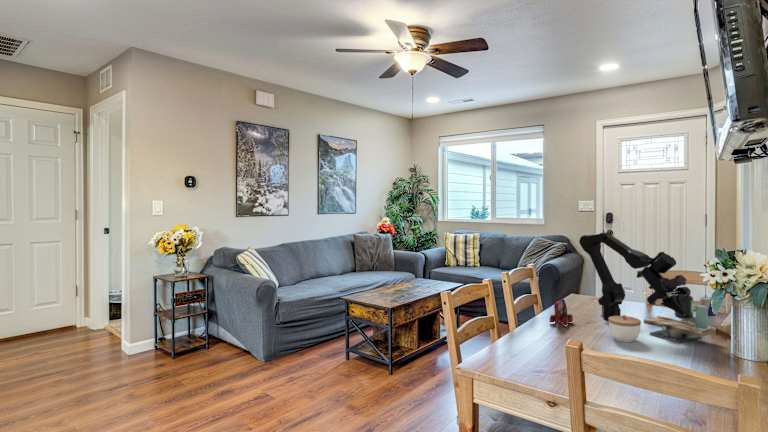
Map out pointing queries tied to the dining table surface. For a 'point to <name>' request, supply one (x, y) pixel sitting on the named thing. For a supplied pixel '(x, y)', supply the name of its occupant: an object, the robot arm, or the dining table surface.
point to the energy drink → (711, 317)
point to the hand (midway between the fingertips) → (684, 314)
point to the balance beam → (678, 326)
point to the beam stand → (673, 334)
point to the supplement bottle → (686, 306)
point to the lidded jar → (624, 328)
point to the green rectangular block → (701, 319)
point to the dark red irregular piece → (561, 313)
